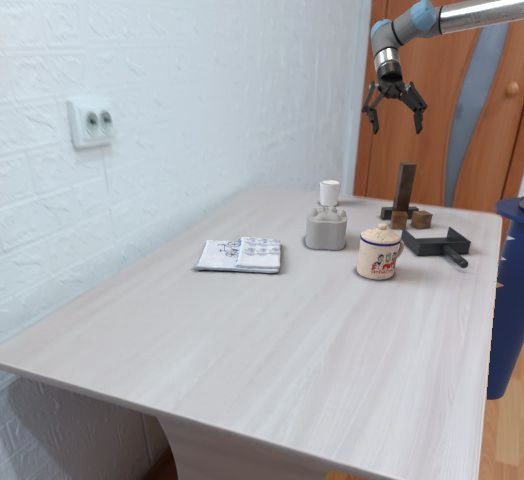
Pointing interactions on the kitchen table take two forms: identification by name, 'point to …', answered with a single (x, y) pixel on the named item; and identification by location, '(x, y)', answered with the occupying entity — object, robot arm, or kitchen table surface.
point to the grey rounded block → (326, 228)
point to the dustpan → (440, 246)
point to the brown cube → (398, 220)
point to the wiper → (402, 192)
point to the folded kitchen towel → (241, 255)
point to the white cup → (329, 192)
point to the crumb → (421, 219)
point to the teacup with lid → (379, 252)
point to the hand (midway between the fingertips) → (398, 131)
